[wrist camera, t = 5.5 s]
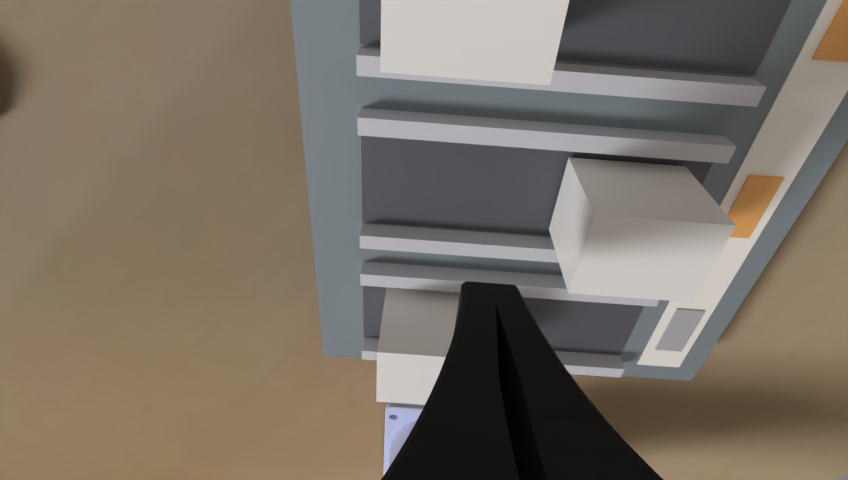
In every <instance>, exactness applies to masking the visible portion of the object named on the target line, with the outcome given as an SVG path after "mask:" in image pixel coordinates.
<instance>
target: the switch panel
mask: <svg viewBox="0 0 848 480" xmlns="http://www.w3.org/2000/svg"><path fill="white" fill-rule="evenodd" d="M290 6H291V16H292V27H293V38H294V49H295V59H296V70H297V81H298V92H299V102H300V113H301V124H302V135H303V145H304V156H305V167H306V178H307V188H308V199H309V210H310V221H311V231H312V242H313V253H314V264H315V275H316V285H317V296H318V307H319V318H320V328H321V339H322V350H323V355H326V356H340V357H354V358H362V359H363V360H377V349H378V342H379V335H380V328H381V321H382V314H383V307H384V300H385V293H386V287H389V288H403V289H417V290H431V291H445V292H459V293H460V290H461V284H463V283H464V282H466V281H470V282H484V283H497V284H511V285H516V287H517V288H518V289H519V291H520V293H521V295H522V297H523V299H524V301H525V303H526V305H527V306H528V308H529V310H530V312H531V314H532V316H533V317H534V319H535V321H536V322H537V324H538V326H539V328H540V329H541V331H542V333H543V334H544V336H545V337H546V339H547V341H548V342H549V344H550V345H551V347H552V348H553V350H554V351H555V353H556V355H557V356H558V358H559V359H560V361H561V362H562V364H563V365H564V366H565V368H566V369H567V371H568V372H569V373H570V374H578V375H592V376H606V377H620V378H621V376H626V377H640V378H654V379H668V380H683V381H691V380H692V379H693V377H694V376H695V374H696V373H697V371H698V370H699V368H700V367H701V365H702V363H703V362H704V360H705V359H706V357H707V356H708V354H709V353H710V351H711V350H712V348H713V347H714V345H715V343H716V342H717V340H718V339H719V337H720V336H721V334H722V333H723V331H724V330H725V328H726V327H727V325H728V323H729V322H730V320H731V319H732V317H733V316H734V314H735V313H736V311H737V310H738V308H739V307H740V305H741V303H742V302H743V300H744V299H745V297H746V296H747V294H748V293H749V291H750V290H751V288H752V287H753V285H754V283H755V282H756V280H757V279H758V277H759V276H760V274H761V273H762V271H763V270H764V268H765V267H766V265H767V264H768V262H769V260H770V259H771V257H772V256H773V254H774V253H775V251H776V250H777V248H778V247H779V245H780V244H781V242H782V240H783V239H784V237H785V236H786V234H787V233H788V231H789V230H790V228H791V227H792V225H793V224H794V222H795V220H796V219H797V217H798V216H799V214H800V213H801V211H802V210H803V208H804V207H805V205H806V204H807V202H808V200H809V199H810V197H811V196H812V194H813V193H814V191H815V190H816V188H817V187H818V185H819V184H820V182H821V180H822V179H823V177H824V176H825V174H826V173H827V171H828V170H829V168H830V167H831V165H832V164H833V162H834V160H835V159H836V157H837V156H838V154H839V153H840V151H841V150H842V148H843V147H844V145H845V144H846V142H847V140H848V0H569V4H568V9H567V13H566V17H565V22H564V26H563V31H562V35H561V39H560V44H559V48H558V53H557V57H556V61H555V66H554V70H553V75H552V79H551V83H550V85H538V84H525V83H512V82H500V81H487V80H474V79H461V78H448V77H436V76H423V75H410V74H397V73H384V72H380V55H381V0H290ZM569 157H570V158H584V159H597V160H610V161H623V162H636V163H649V164H662V165H675V166H686V167H687V169H688V170H689V171H690V172H691V173H692V174H693V176H694V177H695V178H696V179H697V180H698V181H699V183H700V184H701V185H702V186H703V187H704V189H705V190H706V191H707V192H708V193H709V194H710V196H711V197H712V198H713V199H714V200H715V201H716V203H717V204H718V205H719V206H720V207H721V209H722V210H723V211H724V212H725V213H726V214H727V216H728V217H729V218H730V219H731V220H732V221H733V223H734V224H735V225H736V226H735V228H734V230H733V232H732V234H731V235H730V237H729V239H728V241H727V242H726V244H725V246H724V248H723V250H722V251H721V253H720V255H719V257H718V258H717V260H716V262H715V264H714V266H713V267H712V269H711V271H710V273H709V274H708V276H707V278H706V280H705V281H704V283H703V285H702V287H701V289H700V290H699V292H698V294H697V296H696V297H695V299H694V301H693V302H682V301H668V300H654V299H640V298H627V297H613V296H599V295H585V294H571V293H568V291H567V288H566V284H565V281H564V278H563V275H562V271H561V268H560V265H559V261H558V258H557V255H556V251H555V248H554V245H553V241H552V238H551V235H550V231H549V227H550V223H551V219H552V216H553V212H554V209H555V205H556V201H557V198H558V194H559V190H560V187H561V183H562V180H563V176H564V172H565V169H566V165H567V161H568V158H569Z"/></svg>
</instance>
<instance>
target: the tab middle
mask: <svg viewBox="0 0 848 480" xmlns="http://www.w3.org/2000/svg"><path fill="white" fill-rule="evenodd" d="M735 226H736V225H735V224H734V223H733V221H732V220H731V219H730V218H729V217H728V216H727V214H726V213H725V212H724V211H723V210H722V209H721V207H720V206H719V205H718V204H717V203H716V201H715V200H714V199H713V198H712V197H711V196H710V194H709V193H708V192H707V191H706V190H705V189H704V187H703V186H702V185H701V184H700V183H699V181H698V180H697V179H696V178H695V177H694V176H693V174H692V173H691V172H690V171H689V170H688V169H687V167H686V166H675V165H662V164H649V163H636V162H623V161H610V160H597V159H584V158H570V157H569V158H568V161H567V165H566V169H565V172H564V176H563V180H562V183H561V187H560V190H559V194H558V198H557V201H556V205H555V209H554V212H553V216H552V219H551V223H550V227H549V231H550V235H551V238H552V241H553V245H554V248H555V251H556V255H557V258H558V261H559V265H560V268H561V271H562V275H563V278H564V281H565V284H566V288H567V291H568V293H571V294H585V295H599V296H613V297H627V298H640V299H654V300H668V301H682V302H693V301H694V299H695V297H696V296H697V294H698V292H699V290H700V289H701V287H702V285H703V283H704V281H705V280H706V278H707V276H708V274H709V273H710V271H711V269H712V267H713V266H714V264H715V262H716V260H717V258H718V257H719V255H720V253H721V251H722V250H723V248H724V246H725V244H726V242H727V241H728V239H729V237H730V235H731V234H732V232H733V230H734V228H735Z"/></svg>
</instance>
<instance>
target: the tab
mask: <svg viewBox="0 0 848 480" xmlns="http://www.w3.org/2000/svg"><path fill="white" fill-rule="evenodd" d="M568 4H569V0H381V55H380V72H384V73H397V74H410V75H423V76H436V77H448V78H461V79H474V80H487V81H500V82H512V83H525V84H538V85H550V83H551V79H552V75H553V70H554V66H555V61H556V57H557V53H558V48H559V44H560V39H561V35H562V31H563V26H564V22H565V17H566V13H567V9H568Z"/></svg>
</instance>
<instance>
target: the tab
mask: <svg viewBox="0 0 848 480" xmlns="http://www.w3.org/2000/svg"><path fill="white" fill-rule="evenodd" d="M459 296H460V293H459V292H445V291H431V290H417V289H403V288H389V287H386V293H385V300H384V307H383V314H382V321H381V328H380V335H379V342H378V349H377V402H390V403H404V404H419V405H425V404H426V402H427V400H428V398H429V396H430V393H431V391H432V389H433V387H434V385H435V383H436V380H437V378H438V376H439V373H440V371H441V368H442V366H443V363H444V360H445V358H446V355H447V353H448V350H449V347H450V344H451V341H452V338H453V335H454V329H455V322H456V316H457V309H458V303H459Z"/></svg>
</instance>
